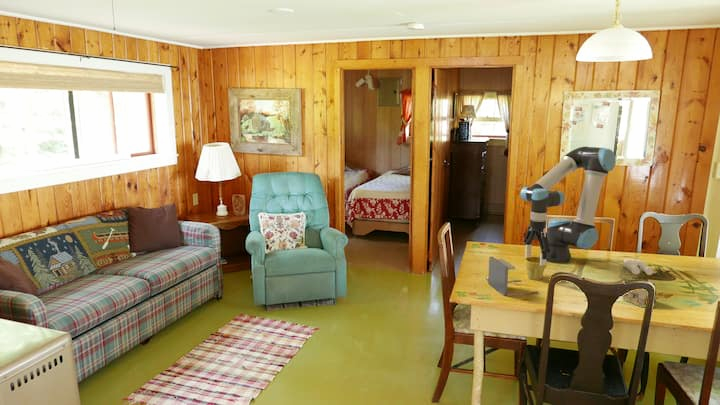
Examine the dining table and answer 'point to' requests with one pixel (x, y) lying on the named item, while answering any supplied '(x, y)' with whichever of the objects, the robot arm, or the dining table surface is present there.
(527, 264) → the plant pot
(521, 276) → the dining table surface
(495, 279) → the bracket
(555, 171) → the robot arm
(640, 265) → the binoculars
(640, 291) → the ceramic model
